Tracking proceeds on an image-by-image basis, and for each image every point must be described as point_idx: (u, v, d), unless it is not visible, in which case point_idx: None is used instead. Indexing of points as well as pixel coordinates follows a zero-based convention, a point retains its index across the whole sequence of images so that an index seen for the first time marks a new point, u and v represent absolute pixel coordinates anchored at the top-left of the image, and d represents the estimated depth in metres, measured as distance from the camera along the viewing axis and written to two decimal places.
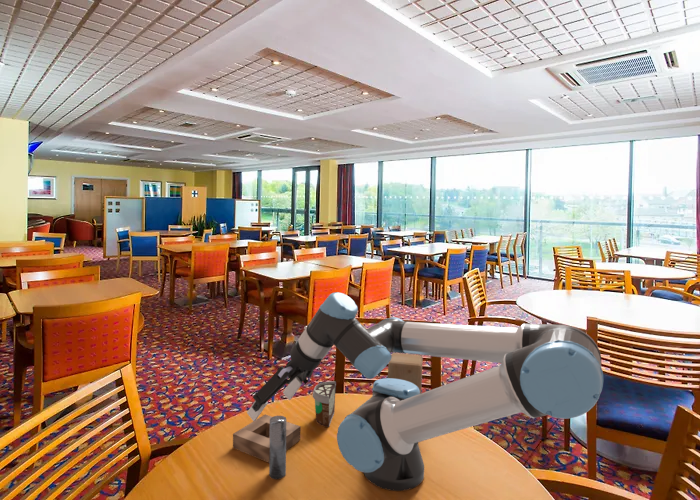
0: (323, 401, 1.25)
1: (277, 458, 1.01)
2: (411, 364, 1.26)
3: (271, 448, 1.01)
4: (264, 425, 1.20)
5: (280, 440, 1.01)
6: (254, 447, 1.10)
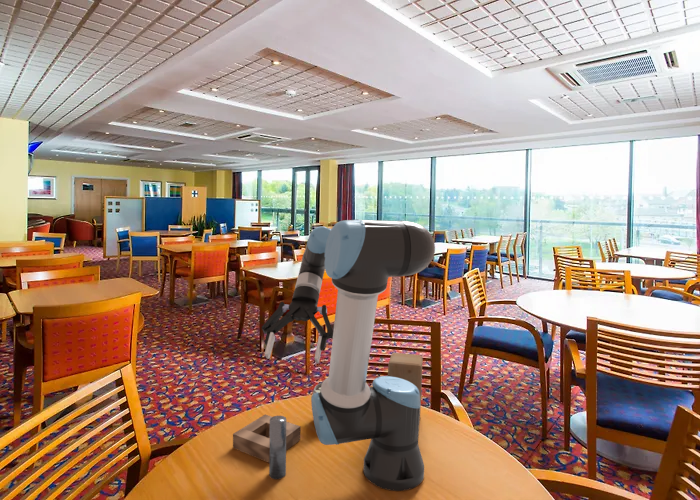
0: None
1: (277, 458, 1.01)
2: (411, 364, 1.26)
3: (271, 448, 1.01)
4: (264, 425, 1.20)
5: (280, 440, 1.01)
6: (254, 447, 1.10)
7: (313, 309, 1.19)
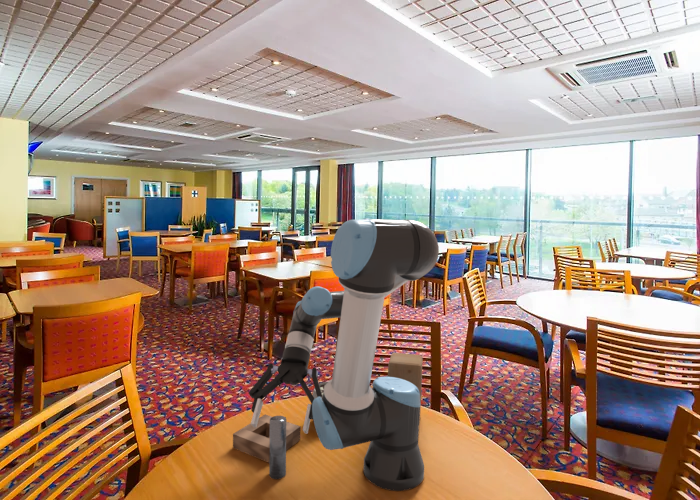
0: None
1: (277, 458, 1.01)
2: (411, 364, 1.26)
3: (271, 448, 1.01)
4: (264, 425, 1.20)
5: (280, 440, 1.01)
6: (254, 447, 1.10)
7: (303, 372, 1.14)
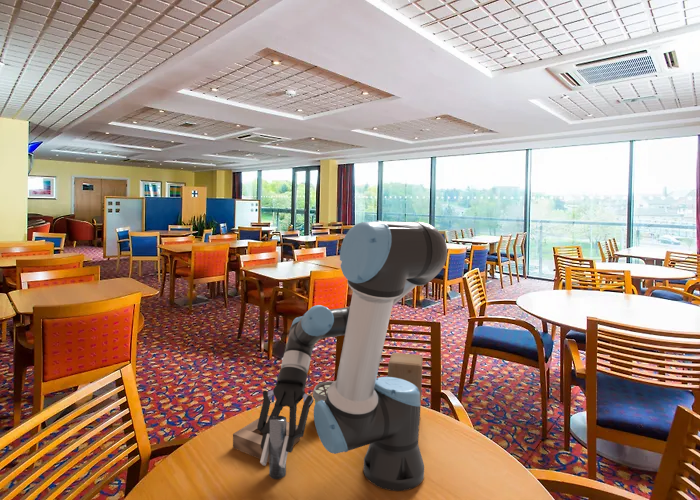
0: None
1: (277, 458, 1.01)
2: (411, 364, 1.26)
3: (271, 448, 1.01)
4: None
5: (280, 440, 1.01)
6: (254, 447, 1.10)
7: (298, 394, 1.09)
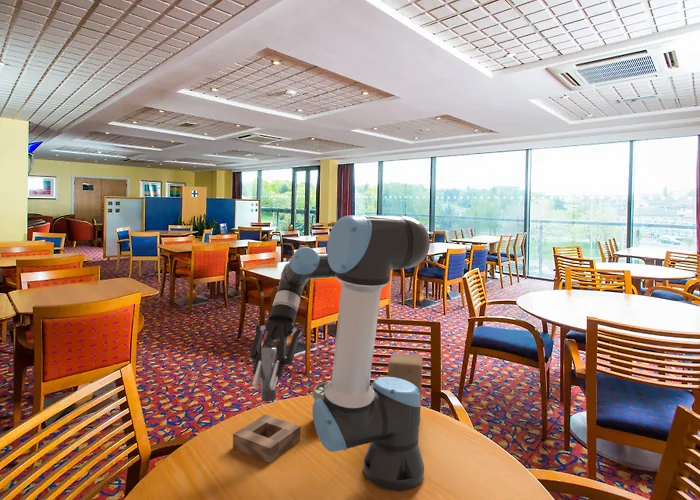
0: None
1: (268, 382, 1.11)
2: (411, 364, 1.26)
3: (262, 373, 1.11)
4: (264, 425, 1.20)
5: (271, 366, 1.11)
6: (254, 447, 1.10)
7: (288, 328, 1.19)
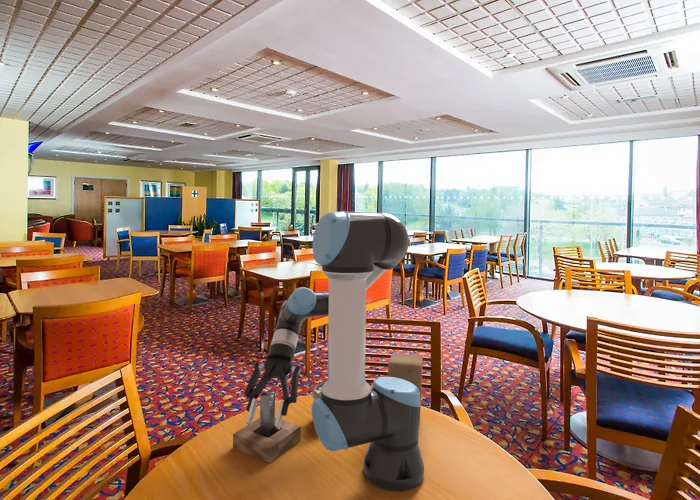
0: None
1: (267, 429, 1.14)
2: (411, 364, 1.26)
3: (261, 420, 1.15)
4: None
5: (269, 413, 1.14)
6: (254, 447, 1.10)
7: (287, 367, 1.22)
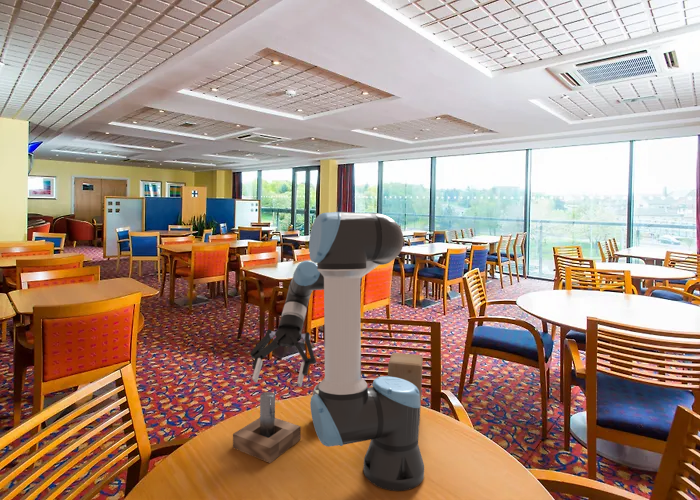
0: None
1: (267, 429, 1.14)
2: (411, 364, 1.26)
3: (261, 420, 1.15)
4: None
5: (269, 413, 1.14)
6: (254, 447, 1.10)
7: (297, 336, 1.31)
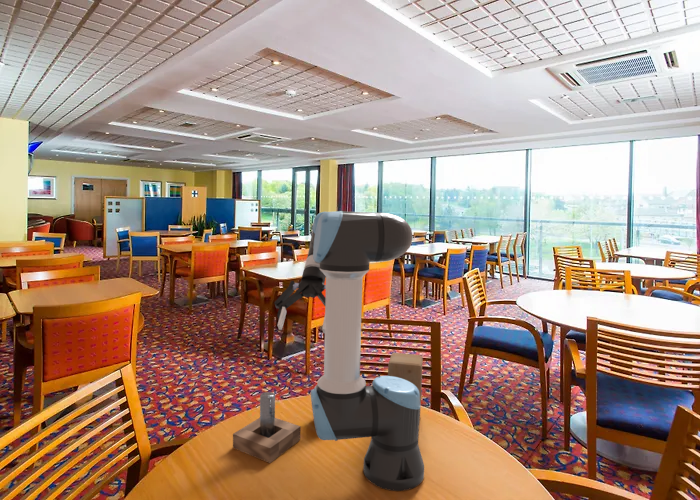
0: None
1: (266, 429, 1.14)
2: (411, 364, 1.26)
3: (261, 420, 1.15)
4: None
5: (269, 413, 1.14)
6: (254, 447, 1.10)
7: (320, 287, 1.32)
